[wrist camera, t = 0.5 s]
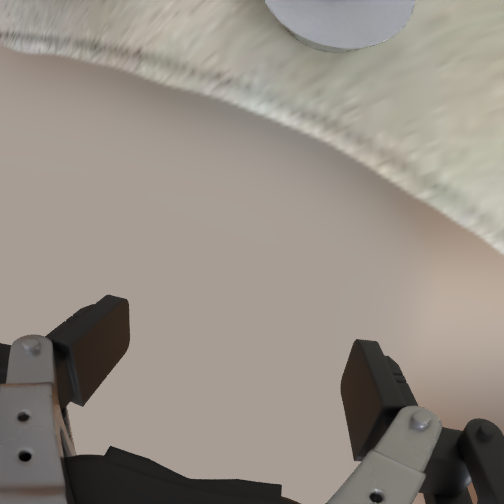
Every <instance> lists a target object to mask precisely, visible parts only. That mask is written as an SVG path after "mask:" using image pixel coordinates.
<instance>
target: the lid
mask: <svg viewBox="0 0 504 504" xmlns="http://www.w3.org/2000/svg"><path fill="white" fill-rule="evenodd" d="M264 1H265V3H266V5H267V7H268V8H269V9H270V11H271V12H272V14H273V15H274V16H275V17H276V18H277V19H278V21H280V22H281V23H282V24H283V25H284V26H285V27H286V28H288V29H289V30H291V31H292V32H293V33H295V34H297V35H298V36H300V37H302V38H304V39H306V40H309V41H311V42H313V43H316V44H319V45H323V46H327V47H332V48H340V49H358V48H365V47H370V46H374V45H377V44H379V43H382V42H384V41H386V40H388V39H390V38H391V37H393V36H394V35H395V34H397V33H398V32H399V31H400V30H401V29H402V28H403V27H404V26H405V24H406V23H407V22H408V20H409V18H410V16H411V14H412V11H413V8H414V3H415V0H264Z"/></svg>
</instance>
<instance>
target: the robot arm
mask: <svg viewBox="0 0 504 504" xmlns="http://www.w3.org/2000/svg"><path fill="white" fill-rule="evenodd" d="M129 341H130V326H129V304H128V301H127V299H124V298H120V297H115V296H112V295H106V296H105V297H104V298H102V299H101V300H100V301H98V302H97V303H96V304H92V305H89V306H87V307H84V308H82V309H80V310H79V311H77V312H76V313H75V314H73V316H71V317H69V318H68V319H67V320H66V322H65V321H64V322H63V323H62V324H60V325H59V326H58V327H57V328H55V329H54V330H53V331H52V332H50V333H49V334H48V335H47V336H45V337H44V336H41V335H27V336H23V337H20V338H19V339H17V340H16V341H14V342H13V344H12V345H7V344H1V343H0V504H300V503H298V502H296V501H293V500H291V499H288V498H285V497H282V496H281V489H282V485H280V484H270V483H262V482H254V481H247V480H240V479H221V480H220V479H219V480H218V479H217V480H216V479H215V480H209V479H189V478H186V477H184V476H182V475H180V474H178V473H176V472H174V471H172V470H170V469H168V468H166V467H164V466H161V465H160V464H158V463H156V462H154V461H152V460H150V459H148V458H145V457H142V456H139V455H135V454H132V453H129V452H127V451H124V450H121V449H118V448H115V447H112V446H110V447H109V449H108V450H107V452H106V454H105V455H104V456H103V455H76V452H75V447H74V442H73V438H72V432H71V427H70V421H69V415H68V410H67V405H68V404H69V402H73V403H75V404H78V405H80V406H82V407H83V406H84V405H85V403H86V402H87V401H88V400H89V398H90V397H91V396H92V394H93V393H94V392H95V391H96V389H97V388H98V387H99V386H100V384H101V383H102V381H103V380H104V379H105V378H106V377H107V375H108V374H109V373H110V372H111V370H112V369H113V368H114V367H115V365H116V364H117V363H118V362H119V360H120V359H121V358H122V357H123V355H124V354H125V353H126V351H127V349H128V346H129ZM341 396H342V401H343V405H344V410H345V415H346V420H347V425H348V431H349V436H350V441H351V447H352V452H353V458H354V461H362V462H361V463H360V464H359V466H358V467H357V468H356V469H355V471H354V472H353V473H352V474H351V475H350V477H349V478H348V479H347V480H346V482H345V483H344V484H343V485H342V486H341V487H340V488H339V489H338V491H337V492H336V493H335V494H334V495H333V496H332V497H331V499H330V500H329V501H328V502H327V503H326V504H412V503H413V501H414V499H415V497H416V496H417V494H418V492H419V493H423V494H424V499H425V503H426V504H473V503H472V500H471V497H470V494H469V492H468V488H467V486H469V484H470V483H471V482H472V483H473V486H474V488H475V491H476V494H477V498H478V502H477V504H504V435H503V434H502V432H501V430H500V429H499V428H498V427H497V426H496V425H495V424H494V423H492V422H490V421H488V420H485V419H473V420H471V421H469V422H468V424H467V425H466V427H465V428H464V430H463V431H460V430H454V429H448V428H444V427H442V423H441V421H440V419H439V417H438V416H437V415H436V414H434V413H433V412H432V411H430V410H428V409H426V408H424V407H420V406H418V404H417V402H416V400H415V398H414V396H413V394H412V392H411V390H410V387H409V385H408V384H407V383H406V380H405V377H404V376H403V374H402V371H401V370H400V367H399V365H398V364H397V363H396V362H395V361H393V360H392V359H391V358H390V357H389V356H384V354H383V352H382V350H381V348H380V346H379V344H378V342H376V341H369V340H359V339H356V341H355V342H354V343H353V346H352V349H351V352H350V355H349V358H348V361H347V364H346V367H345V370H344V373H343V376H342V380H341Z"/></svg>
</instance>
